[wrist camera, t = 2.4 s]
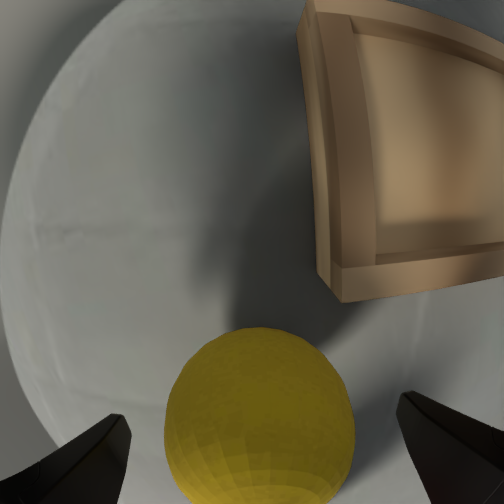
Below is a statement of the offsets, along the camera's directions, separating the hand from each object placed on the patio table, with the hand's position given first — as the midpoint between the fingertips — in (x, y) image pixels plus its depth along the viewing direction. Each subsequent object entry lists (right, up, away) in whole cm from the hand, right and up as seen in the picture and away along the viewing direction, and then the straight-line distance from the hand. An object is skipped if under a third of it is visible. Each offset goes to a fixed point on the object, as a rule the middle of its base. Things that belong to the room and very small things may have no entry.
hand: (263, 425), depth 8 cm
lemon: (0, +1, +4) cm, 4 cm away
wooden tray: (+7, +10, +2) cm, 12 cm away
